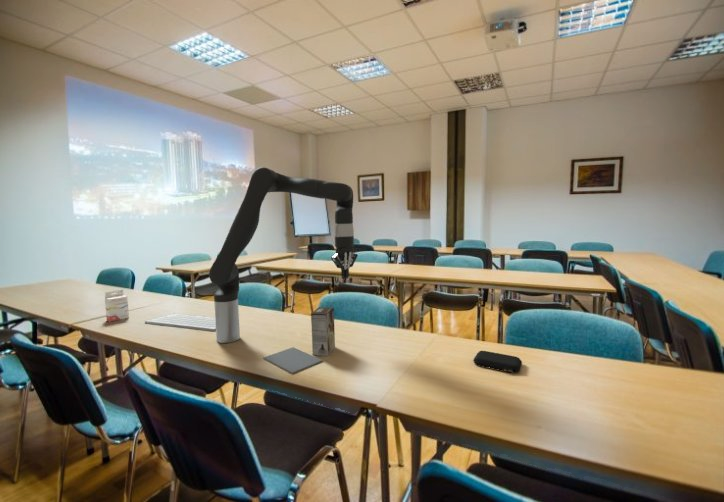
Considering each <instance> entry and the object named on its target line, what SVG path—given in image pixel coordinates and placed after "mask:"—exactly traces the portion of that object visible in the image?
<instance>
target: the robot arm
mask: <svg viewBox="0 0 724 502" xmlns="http://www.w3.org/2000/svg"><path fill="white" fill-rule="evenodd" d="M268 193H289V194H290V193H291V194H297V195H301V196H305V197H311V198H315V199H322V200H323V199H326V200H331V201H335V202H336V209H335V211H334V247H335V248H336V249H335V252H334V253H335V254H334V255H333V256H331V257H330V259H331V261H332V262H333V264H334V265H335V266H336V268H337V269H340V270H341V271H340V272H341V273H340V274H341V278H342V279H344V280H345V279H346V280H347V279H349V276H350V268H352V267H353V266H354V264H355V262H356V260H357V258H358V253H355V252H354V249H353V247H354V246H355V236H354V234H355V233H354V232H355V229H354V219H353V217H354V216H353V207H354V206H353V205H354V191H353V189H352V187H351V186H350V185H349V184H347V183H343V182H334V181H333V182H332V181H326V180H321V179H314V178H306V177H294V176H292V177H291V176H288V175H284V174H281V173H279V172H276V171H275V170H273V169H270V168H267V167H265V166H261V167H258V168H257V169H255V170H254V171H253V173H252V174H251V177H250V180H249V183H248V185H247V189H246V193H245V194H244V197H243V200H242V202H241V204H240V207H239V208H238V210H237V213H236V215H235V218H234V220H233V222H232V224H231V225H230V228H229V230H228V233H227V236H225V237H226V238H225V240H224V242H223V244H222V247H221V248H220V251H219V253H218V254H217V257H216V258H215V259H214V262H213V263H212V265H211V267H210V268H209V272H208V277H209V280H210V282H211V283H212V284H213V285H216V286H217V288H216V291H215V293H214V294H213V301H214V303H213V304H214V316H215V317H214V318H215V321H216V331H215V332H216V333H215V334H216V342H217V343H220V344H227V343H228V344H229V343H233V342H237V341H238V340H240V338H241V333H240V331H241V330H240V328H241V327H240V314H239V291H240V271H239V267H238V266H237V264H236V262H237V261H238V258H239V256H240V255H241V254H242V252H244V250H245V249H246V248H247V247H248V245H249V243H251V240H252V239H253V238H254V236H255V233H256V230H257V229H258V226H259V222H260V217H261V216H260V215H261V207H262V204H263V202H264V200H265V198H266V196H267V194H268Z"/></svg>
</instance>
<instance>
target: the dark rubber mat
mask: <svg viewBox="0 0 724 502" xmlns="http://www.w3.org/2000/svg"><path fill="white" fill-rule="evenodd" d="M262 359H263V360H264V361H267V362H269V363H271V364H272V365H274V366H276V367H278V368H280V369H282V370H283V371H285V372H287V373H289V374H291V375H294V374H296V373H298V372H301V371H304V370H306V369H308V368H310V367H311V368H312V367H313V366H315V365H318V364H319V363H323V359H321V358H319V357H316V356H315V355H313V354H309V353H308V352H305V351H302V350H301V349H298V348H296V347H294V346H292V347H289V348H287V349H284V350H281V351H277V352H276V353H275V352H274V353H272V354H269V355H266V356H263V358H262Z"/></svg>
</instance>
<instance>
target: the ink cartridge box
mask: <svg viewBox="0 0 724 502" xmlns="http://www.w3.org/2000/svg"><path fill="white" fill-rule="evenodd" d="M104 295H105V296H104V305H105V315H106V316H105V317H106V322H107V321H108V322H109V323H110V322H111V323H112V322H115V321H116V320H117V321H122V320H126V319H129V318H130V316H129V314H130V313H129V301H128V300H129V299H128V295H124V289H118V290H117V289H116V290H112V291H105V292H104ZM125 318H126V319H125ZM121 319H122V320H121Z"/></svg>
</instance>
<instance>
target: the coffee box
mask: <svg viewBox="0 0 724 502" xmlns="http://www.w3.org/2000/svg"><path fill="white" fill-rule="evenodd" d="M310 321H311V344H312V345H311V347H312V356H324V357H328V356H330V354H331V353H332V352H333V350H334V348H335V347H336V342H335V341H336V338H335V335H336V334H335V333H336V332H335V331H336V330H335V307H327V306H325V307H323V306H320V307H318V308H316V309H315V310H314V311H313V312H311V314H310Z"/></svg>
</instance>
